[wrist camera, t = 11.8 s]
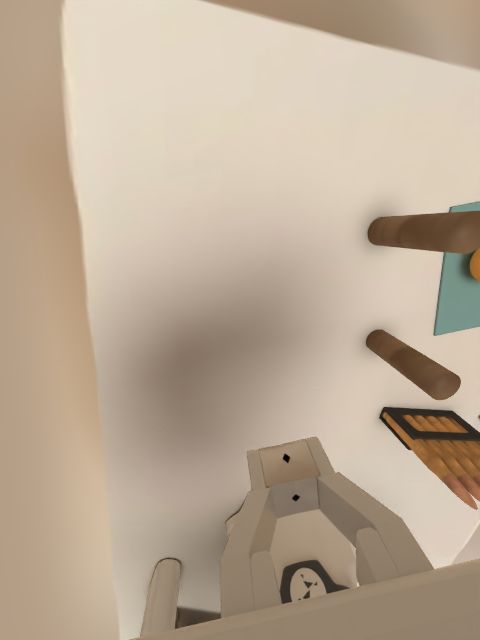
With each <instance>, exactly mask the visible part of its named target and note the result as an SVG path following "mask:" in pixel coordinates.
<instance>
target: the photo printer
mask: <svg viewBox="0 0 480 640" xmlns="http://www.w3.org/2000/svg"><path fill="white" fill-rule="evenodd" d="M179 581H180V563H178V561H177V560H173V559H165V560H162V562H159V563H158V565H157V567H156V569H155V572H154V575H153V578H152V581H151V584H150V588H149V592H148V596H147V602H146V607H145V613H144V618H143V624H142V629H141V634H140V637H143V636H147V635H152V634H156V633H160V632H165V631H169V630H173V629H175V621H176V611H177V602H178V591H179Z"/></svg>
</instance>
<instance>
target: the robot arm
mask: <svg viewBox="0 0 480 640" xmlns="http://www.w3.org/2000/svg"><path fill="white" fill-rule="evenodd" d="M259 451H260V452H259ZM247 458H248V466H249V473H250V480H251V488H252V491H250V492H248V494H247V496H246V499H245V501H244V504H243V506H242V508H241V510H240V511H239V512H238V513H237V514H235V515H234V516H233V517H231V518H230V519H229V520H228V521H227V522H226V529H227V533H228V534H229V536H230V537H229V540H228V542H227V544H226V547H225V549H224V552H223V554H222V556H221V559H220V578H221V619H216V620H212V621H208V622H203V623H199V624H195V625H190V626H186V627H182V628H178V629H173V630H169V631H165V632H160V633H156V634H152V635H147V636H143V637H139V638H134V639H130V640H480V559H476V560H471V561H467V562H463V563H459V564H454V565H450V566H445V567H441V568H437V569H434V568H433V566H432V565H431V563H430V562H429V560H428V559H427V557H426V555H425V554H424V552H423V551H422V549H421V548H420V546H419V544H418V543H417V541H416V540H415V538H414V537H413V535H412V534H411V532H410V530H409V529H408V527H407V526H406V524H405V523H404V521H403V520H402V518H400V517H399V516H398V515H396V514H395V513H393V512H392V511H391V510H389V509H388V508H387V507H385V506H384V505H383V504H381V503H380V502H379V501H377V500H376V499H374V498H373V497H372V496H370V495H369V494H368V493H366V492H365V491H364V490H362V489H361V488H360V487H358V486H357V485H356V484H354V483H353V482H351V481H350V480H349V479H347V478H346V477H345V476H343V475H342V474H341V473H339V472H337V473H335V472H334V470H333V468H332V466H331V464H330V461H329V459H328V457H327V455H326V453H325V451H324V449H323V447H322V445H321V443H320V441H319V439H318V438H317V437H312V438H307V439H305V440H304V439H302V440H297V441H293V442H289V443H284V444H282V445H277V446H272V447H266V448H261V449H256V450H251V451H247ZM353 546H354V547H355V548H356V552H355V550H354V547H353ZM357 582H359V585H360V586H359V587H357Z"/></svg>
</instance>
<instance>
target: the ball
mask: <svg viewBox="0 0 480 640" xmlns="http://www.w3.org/2000/svg"><path fill="white" fill-rule="evenodd" d="M470 271H471V274H472V275H473V277H474V278H475V279H476V280H477V281H479V282H480V247H479V248H478V249H477V250H476V251H475V253H474V254H473V256H472V258H471V260H470Z"/></svg>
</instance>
